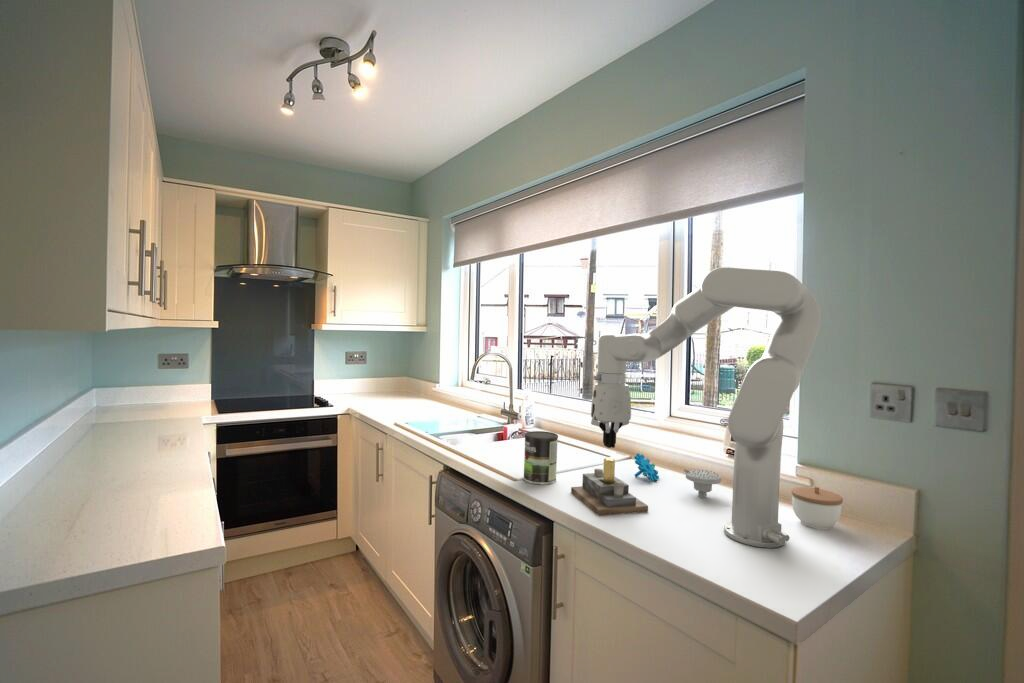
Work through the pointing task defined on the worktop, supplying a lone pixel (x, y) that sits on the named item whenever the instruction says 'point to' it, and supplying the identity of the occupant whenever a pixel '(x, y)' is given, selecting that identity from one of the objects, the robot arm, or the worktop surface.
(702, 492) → the showerhead
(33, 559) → the worktop surface
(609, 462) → the brass pin
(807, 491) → the lidded jar
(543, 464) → the coffee can
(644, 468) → the gear
